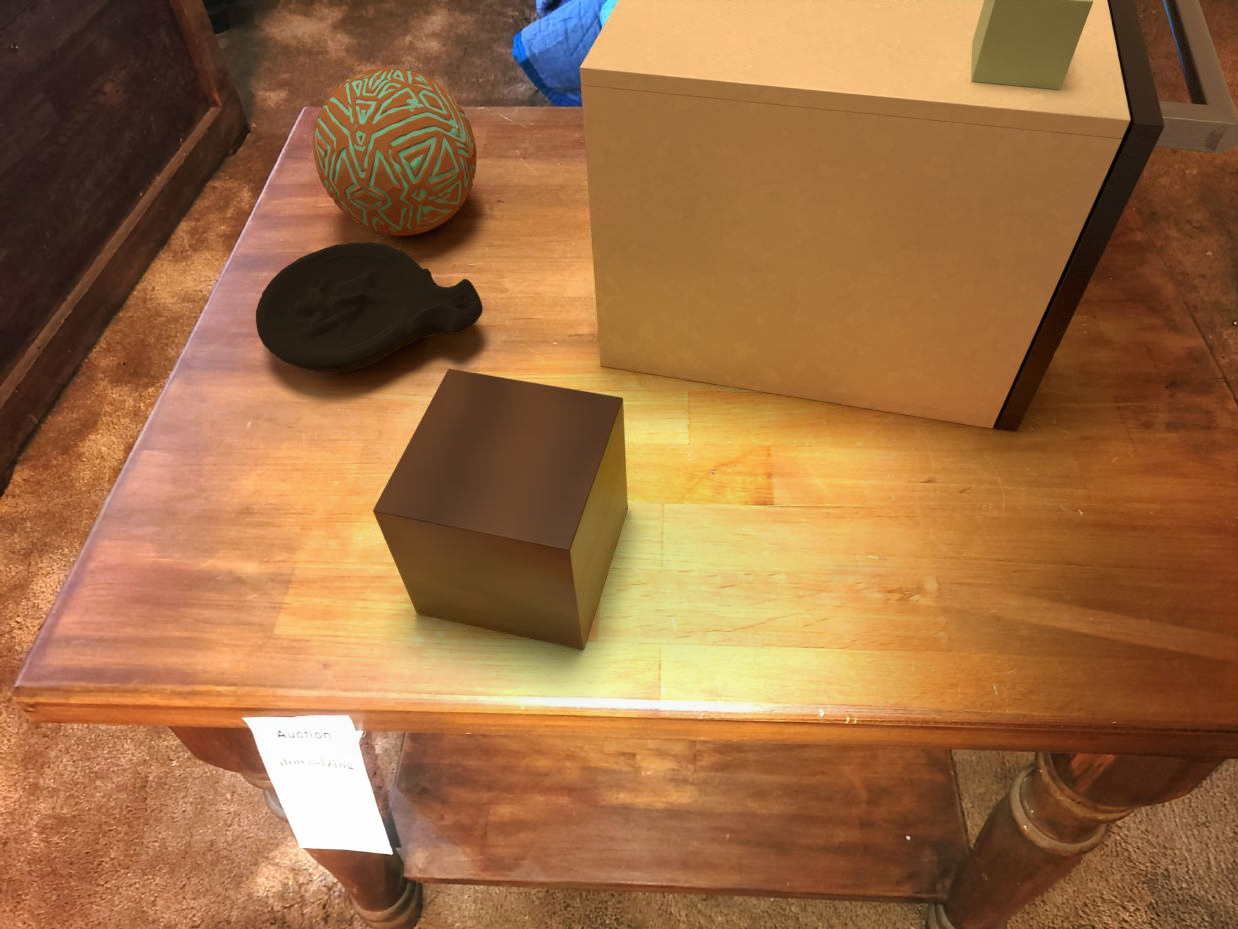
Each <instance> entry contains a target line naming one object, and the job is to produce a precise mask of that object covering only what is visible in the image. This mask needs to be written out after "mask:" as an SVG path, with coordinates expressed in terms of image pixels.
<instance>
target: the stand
mask: <svg viewBox="0 0 1238 929" xmlns="http://www.w3.org/2000/svg"><path fill="white" fill-rule="evenodd" d="M624 412H625V409H624V398H623V396H622V397H621V396H615V395H611V394H604V393H598V392H593V391H587V390H580V389H573V388H567V387H561V386H556V385H549V384H545V383H544V384H543V383H536V382H532V381H526V380H520V379H514V378H507V377H501V376H496V375H491V374H483V373H477V372H472V371H466V370H460V369H453V368H448V369H447V371H446V372H445V374H444V376H443V378H442V380H441V382H440V383H439V386H438V387H437V389H436V390H435V393H434V395H433V397H432V399H431V401H430V402H429V405H428V406H427V408H426V409H425V412H424V414H423V415H422V417H421V419H420V420H419V423H418V425H417V427H416V428H415V430H414V432H413V434H412V436H411V438H410V440H409V442H408V444H407V445H406V447H405V449H404V451H403V453H402V455H401V457H400V458H399V460H398V462H397V465H396V466H395V467H394V470H393V472H392V474H391V475H390V477H389V479H388V481H387V483H386V485H385V487H384V488H383V490H382V492H381V494H380V496H379V498H378V500H377V501H376V504H375V505H374V507H373V509H372V513H373V515H374V517H375V519H376V522H377V524H378V526H379V529H380V531H381V534H382V536H383V538H384V541H385V543H386V545H387V548H388V550H389V553H390V555H391V557H392V559H393V561H394V564H395V566H396V568H397V571H398V573H399V576H400V578H401V580H402V583H403V585H404V587H405V589H406V593H407V594H408V597H409V599H410V602H411V604H412V606H413V608H414V610H415V613H416V614H419V615H424V616H427V617H432V618H437V619H441V620H446V621H449V622H455V623H460V624H463V625H469V626H473V627H478V628H482V629H486V630H490V631H495V632H499V633H505V634H509V635H513V636H516V637H517V636H518V637H521V638H522V637H523V638H527V639H531V640H535V641H540V642H545V643H549V644H552V645H553V644H554V645H557V646H558V645H559V646H562V647H567V648H572V649H576V650H580V651H584V650H585V647H586V643H587V641H588V637H589V634H590V631H591V628H592V624H593V621H594V619H595V615H596V612H597V609H598V605H599V602H600V599H601V595H602V593H603V589H604V587H605V583H606V580H607V577H608V574H609V571H610V567H611V564H612V560H613V557H614V554H615V550H616V548H617V545H618V541H619V538H620V534H621V531H622V529H623V525H624V521H625V519H626V515H627V513H628V508H629V507H628V506H629V505H628V504H629V503H628V482H627V481H628V480H627V458H626V455H627V454H626V438H625V436H626V433H625V414H624Z"/></svg>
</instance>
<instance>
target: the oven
mask: <svg viewBox="0 0 1238 929" xmlns="http://www.w3.org/2000/svg"><path fill="white" fill-rule="evenodd" d="M983 2H984V0H617V2H616V4H615V6H614V7H613V9H612V10H611V13H609V16H608V17H607V19H606V21H605V23H604V24H603V26H602V28H601V30H600V31H599V33H598V35H597V37H596V38H595V40H594V42H593V43H592V45H591V47H590V48H589V50H588V52H587V54H586V55H585V57H584V59H583V61H582V62H581V64H580V66H579V74H580V92H581V93H580V94H581V106H582V107H581V108H582V119H583V135H584V148H585V164H586V165H585V166H586V179H587V192H588V205H589V209H588V210H589V220H590V236H591V237H590V238H591V250H592V262H593V263H592V266H593V267H592V268H593V279H594V294H595V308H596V310H595V311H596V322H597V334H598V336H597V337H598V351H599V353H598V354H599V364H600V367H603V368H604V367H605V368H612V369H616V370H623V371H629V372H630V371H631V372H637V373H642V374H648V375H649V374H650V375H653V376H654V375H655V376H661V377H666V378H667V377H668V378H674V379H680V380H686V381H693V382H699V383H705V384H713V385H717V386H723V387H730V388H734V389H741V390H742V389H743V390H749V391H755V392H761V393H768V394H773V395H780V396H785V397H786V396H787V397H791V398H792V397H793V398H798V399H803V400H804V399H805V400H809V401H810V400H812V401H818V402H823V403H831V404H835V405H841V406H847V407H848V406H849V407H855V408H861V409H866V410H874V411H880V412H887V413H892V414H899V415H904V416H911V417H917V418H924V419H929V420H935V421H941V422H948V423H955V424H959V425H966V426H967V425H968V426H972V427H979V428H984V429H985V428H986V429H993V428H994V426H995V425H996V424H995V423H996V419H997V417H998V415H999V412H1000V410H1001V408H1002V406H1003V404H1004V401H1005V399H1006V397H1007V395H1008V392H1009V390H1010V388H1011V386H1012V384H1013V381H1014V379H1015V377H1016V375H1017V372H1018V370H1019V368H1020V366H1021V363H1022V361H1023V359H1024V357H1025V355H1026V352H1027V350H1028V348H1029V346H1030V343H1031V341H1032V339H1033V337H1034V335H1035V332H1036V330H1037V328H1038V326H1039V323H1040V321H1041V319H1042V317H1043V315H1044V312H1045V310H1046V308H1047V306H1048V303H1049V301H1050V299H1051V297H1052V295H1053V292H1054V290H1055V288H1056V286H1057V283H1058V281H1059V279H1060V277H1061V275H1062V272H1063V270H1064V268H1065V266H1066V263H1067V261H1068V259H1069V257H1070V255H1071V252H1072V250H1073V248H1074V246H1075V243H1076V241H1077V239H1078V237H1079V234H1080V232H1081V230H1082V228H1083V226H1084V223H1085V221H1086V219H1087V217H1088V214H1089V212H1090V210H1091V208H1092V206H1093V203H1094V201H1095V199H1096V197H1097V194H1098V192H1099V190H1100V188H1101V186H1102V183H1103V181H1104V179H1105V177H1106V174H1107V172H1108V170H1109V168H1110V166H1111V163H1112V161H1113V159H1114V157H1115V154H1116V152H1117V150H1118V148H1119V146H1120V143H1121V141H1122V138H1123V136H1124V134H1125V132H1126V129H1127V127H1128V125H1129V123H1130V121H1131V119H1130V114H1129V109H1128V104H1127V99H1126V94H1125V88H1124V83H1123V78H1122V73H1121V68H1120V63H1119V57H1118V52H1117V47H1116V42H1115V37H1114V32H1113V27H1112V21H1111V16H1110V11H1109V6H1108V1H1107V0H1093V4H1092V7H1091V9H1090V12H1089V15H1088V18H1087V20H1086V23H1085V26H1084V28H1083V31H1082V34H1081V36H1080V39H1079V42H1078V44H1077V47H1076V50H1075V52H1074V55H1073V58H1072V60H1071V63H1070V66H1069V69H1068V71H1067V74H1066V77H1065V79H1064V82H1063V85H1062V87H1061V89H1060V90H1055V89H1044V88H1034V87H1023V86H1012V85H1001V84H991V83H980V82H972V81H971V77H972V42H973V38H974V35H975V31H976V28H977V24H978V20H979V17H980V13H981V10H982V6H983Z"/></svg>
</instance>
